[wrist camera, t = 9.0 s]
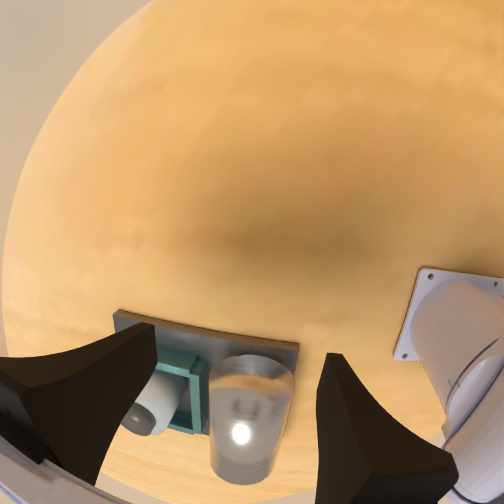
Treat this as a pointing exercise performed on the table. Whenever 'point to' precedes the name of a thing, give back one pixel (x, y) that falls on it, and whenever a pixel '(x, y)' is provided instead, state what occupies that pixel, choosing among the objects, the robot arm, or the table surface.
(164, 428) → the grey capped cylinder
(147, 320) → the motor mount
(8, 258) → the table surface
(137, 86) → the table surface
